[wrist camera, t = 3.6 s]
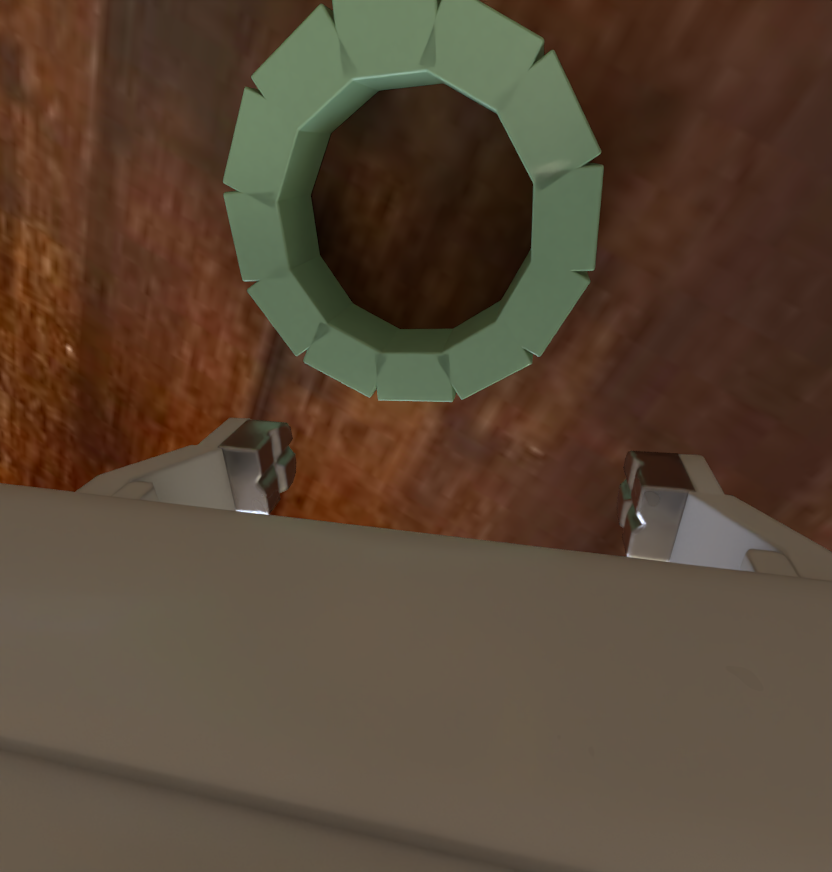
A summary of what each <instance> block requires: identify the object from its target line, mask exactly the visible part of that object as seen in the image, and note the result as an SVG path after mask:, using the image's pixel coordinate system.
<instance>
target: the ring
mask: <svg viewBox="0 0 832 872" xmlns="http://www.w3.org/2000/svg"><path fill="white" fill-rule="evenodd" d="M332 4H333V11H332V10H331V9H329V8H328V7H326V6H325V5H323V4H320V5H319V6H318V7H317V8H316V9H315V10H314V11H313V12H312V13H311V14H310V15H309V16H308V17H307V18H306V19H305V20H304V21H303V22H302V23H301V24H300V25H299V27H298V28H297V29H296V30H295V31H294V32H293V33H292V34H291V35H290V36H289V37H288V38H287V39H286V40H285V41H284V42H283V43H282V44H281V45H280V46H279V47H278V48H277V49H276V51H275V52H274V53H273V54H272V55H271V56H270V57H269V58H268V59H267V60H266V61H265V62H264V63H263V64H262V65H261V66H260V67H259V68H258V69H257V70H256V71H255V72H254V73H253V74H252V76H251V78H252V80H253V81H254V83H255V84H256V86H257V87H258V89H254V88H250V87H245V89H244V93H243V97H242V101H241V106H240V110H239V114H238V119H237V123H236V127H235V131H234V136H233V140H232V144H231V148H230V153H229V157H228V161H227V166H226V170H225V174H224V178H223V183H224V184H226V185H228V186H230V187H232V188H234V189H235V190H237V191H231V192H225V193H224V200H225V204H226V209H227V213H228V218H229V222H230V227H231V231H232V235H233V240H234V244H235V249H236V253H237V258H238V262H239V267H240V271H241V276H242V280H243V281H257V282H256V283H255V284H253V285H252V286H251V287H250V288H248V289H247V292H248V293H249V294H250V296H251V297H252V298H253V300H254V301H255V302H256V304H257V305H258V306H259V308H260V309H261V310H262V312H263V313H264V314H265V316H266V317H267V318H268V320H269V321H270V322H271V324H272V325H273V326H274V328H275V329H276V330H277V332H278V333H279V334H280V336H281V337H282V338H283V340H284V341H285V342H286V344H287V345H288V346H289V348H290V349H291V350H292V352H293V353H294V354H295V356H298V355H299V354H301V353H302V352H304V351H305V350H307V349H308V350H307V352H306V355H305V357H304V363H306V364H308V365H310V366H311V367H313V368H315V369H317V370H319V371H321V372H323V373H325V374H326V375H328V376H330V377H332V378H334V379H336V380H338V381H339V382H341V383H343V384H345V385H347V386H349V387H351V388H352V389H354V390H356V391H358V392H360V393H362V394H364V395H365V396H367V397H371V396H372V395H373V393H374V392H375V391H376V389H377V395H378V400H390V401H434V402H453V400H454V398H455V395H456V392H457V394H458V395H459V397H460V398H461V399H465V398H467V397H469V396H470V395H472V394H474V393H476V392H478V391H480V390H482V389H484V388H486V387H488V386H490V385H492V384H494V383H496V382H498V381H499V380H501V379H503V378H505V377H507V376H509V375H511V374H513V373H515V372H517V371H519V370H521V369H523V368H525V367H527V366H528V365H530V364H532V358H533V354H535V355H537V356H539V357H540V356H541V355H542V353H543V352H544V350H545V349H546V347H547V346H548V344H549V343H550V341H551V340H552V338H553V337H554V335H555V334H556V332H557V331H558V329H559V328H560V326H561V325H562V323H563V322H564V320H565V319H566V317H567V316H568V314H569V313H570V312H571V310H572V309H573V307H574V306H575V304H576V303H577V301H578V300H579V298H580V297H581V295H582V294H583V292H584V291H585V289H586V288H587V286H588V285H589V283H590V278H589V276H588V273H587V271H593V270H594V269H595V262H596V251H597V239H598V228H599V217H600V206H601V194H602V183H603V172H604V166H603V165H601V164H597V163H588V162H589V161H591V160H592V159H594V158H595V157H597V156H598V155H600V154H601V149H600V147H599V145H598V143H597V140H596V138H595V136H594V134H593V132H592V130H591V128H590V126H589V123H588V121H587V119H586V117H585V115H584V113H583V111H582V108H581V106H580V104H579V102H578V100H577V98H576V96H575V93H574V91H573V89H572V87H571V85H570V83H569V81H568V78H567V76H566V74H565V72H564V70H563V68H562V66H561V63H560V61H559V59H558V57H557V55H556V53H555V51H554V50H551V51H549V52H548V53H547V54H546V55H544V39H543V38H542V37H541V36H539V35H537V34H535V33H534V32H532V31H530V30H529V29H527V28H525V27H523V26H522V25H520V24H518V23H517V22H515V21H513V20H512V19H510V18H508V17H506V16H505V15H503V14H501V13H500V12H498V11H496V10H494V9H493V8H491V7H489V6H488V5H486V4H484V3H482V2H481V1H479V0H332ZM442 83H444V84H446V85H447V86H449V87H451V88H452V89H454V90H456V91H458V92H459V93H461V94H463V95H465V96H466V97H468V98H470V99H472V100H473V101H475V102H477V103H479V104H480V105H482V106H484V107H486V108H487V109H489V110H491V111H493V112H494V113H496V114H497V115H498V117H499V119H500V120H501V122H502V124H503V126H504V128H505V130H506V132H507V134H508V136H509V138H510V140H511V142H512V144H513V145H514V147H515V149H516V151H517V153H518V155H519V157H520V159H521V161H522V163H523V165H524V167H525V169H526V170H527V172H528V174H529V176H530V178H531V180H532V182H533V207H532V238H531V249H530V251H529V253H528V255H527V256H526V258H525V260H524V261H523V263H522V265H521V267H520V268H519V270H518V272H517V274H516V275H515V277H514V279H513V280H512V282H511V284H510V286H509V287H508V289H507V291H506V292H505V294H504V296H503V298H502V299H501V301H499V302H497V303H495V304H494V305H492V306H490V307H489V308H487V309H485V310H484V311H482V312H480V313H479V314H477V315H475V316H474V317H472V318H470V319H468V320H467V321H465V322H463V323H462V324H460V325H458V326H457V327H455V328H453V329H399V328H397V327H395V326H393V325H391V324H390V323H388V322H386V321H384V320H382V319H380V318H379V317H377V316H375V315H373V314H371V313H369V312H368V311H366V310H364V309H362V308H360V307H358V306H357V305H355V304H353V303H352V301H351V300H350V298H349V297H348V295H347V294H346V293H345V291H344V290H343V288H342V287H341V285H340V284H339V282H338V281H337V279H336V278H335V276H334V275H333V273H332V272H331V271H330V269H329V268H328V266H327V265H326V263H325V262H324V260H323V259H322V257H321V256H320V253H319V246H318V239H317V233H316V226H315V220H314V213H313V207H312V200H311V193H312V190H313V187H314V184H315V181H316V178H317V175H318V172H319V168H320V165H321V162H322V159H323V156H324V153H325V150H326V147H327V144H328V141H329V138H330V135H331V133H332V132H333V131H334V130H335V129H336V128H337V127H339V126H340V125H341V124H342V123H343V122H344V121H345V120H346V119H348V118H349V117H350V116H351V115H352V114H353V113H354V112H355V111H357V110H358V109H359V108H360V107H361V106H362V105H363V104H364V103H366V102H367V101H368V100H369V99H370V98H371V97H372V96H374V95H375V94H376V93H377V92H378V91H380V90H389V89H398V88H406V87H415V86H424V85H433V84H442Z"/></svg>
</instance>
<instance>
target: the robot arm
mask: <svg viewBox="0 0 832 872" xmlns="http://www.w3.org/2000/svg"><path fill="white" fill-rule="evenodd" d="M292 439H293V437H292V432H291V427H290V426H289V425H288V424H287V423H284V422H274V421H264V420H254V419H247V418H229V419H228V420H227V421H225V422H224V423H223V424H222V425H221V426H219V427H218V428H217V429H216V430H215V431H214V432H212V433H211V434H210V435H209V436H208V437H206V438H205V439H204V440H203V441H202V442H201V443H199V444H198V445H197V446H196V445H190V446H187V447H184V448H181V449H178V450H175V451H172V452H169V453H166V454H162V455H159V456H156V457H153V458H150V459H147V460H144V461H141V462H138V463H135V464H132V465H129V466H126V467H122V468H119V469H116V470H113V471H110V472H107V473H104V474H101V475H98V476H97V477H95V478H94V479H92V480H91V481H90V482H88V483H87V484H86V485H84V486H83V487H81V488H80V489H79V490H77V491H76V492H70V491H62V490H53V489H45V488H36V487H28V486H19V485H11V484H2V483H0V872H832V552H831V551H829V550H827V549H826V548H824V547H822V546H820V545H819V544H817V543H815V542H813V541H812V540H810V539H808V538H806V537H805V536H803V535H801V534H799V533H798V532H796V531H794V530H792V529H791V528H789V527H787V526H785V525H784V524H782V523H780V522H778V521H776V520H775V519H773V518H771V517H769V516H768V515H766V514H764V513H762V512H761V511H759V510H757V509H755V508H754V507H752V506H750V505H748V504H747V503H745V502H743V501H741V500H740V499H738V498H736V497H734V496H732V495H725V494H724V492H723V490H722V489H721V487H720V485H719V483H718V482H717V480H716V478H715V476H714V475H713V473H712V471H711V469H710V467H709V466H708V464H707V462H706V460H705V459H704V457H703V456H701V455H689V454H676V453H659V452H642V451H628V453H627V455H626V458H625V463H624V467H623V468H624V472H625V476H626V480H625V481H624V482H622V483H621V484H620V487H619V493H618V501H617V516H618V522H619V525H620V526H622V527H623V528H624V530H623V534H622V540H623V544H624V548H625V553H626V557H623V556H614V555H606V554H597V553H589V552H580V551H572V550H563V549H555V548H546V547H538V546H529V545H521V544H512V543H504V542H495V541H486V540H478V539H469V538H461V537H452V536H444V535H435V534H427V533H419V532H410V531H402V530H393V529H385V528H376V527H368V526H359V525H351V524H342V523H334V522H325V521H317V520H309V519H300V518H292V517H283V516H275V515H269V514H270V513H271V511H272V510H273V509H274V507H275V506H276V505H277V503H278V502H279V501H280V493H281V492H283V491H285V490H287V489H289V487H290V486H291V484H292V483H293V480H294V477H295V474H296V457H295V454H294V452H293V451H292V450H291V449H290V448H289V444H290V443H291V441H292Z"/></svg>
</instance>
